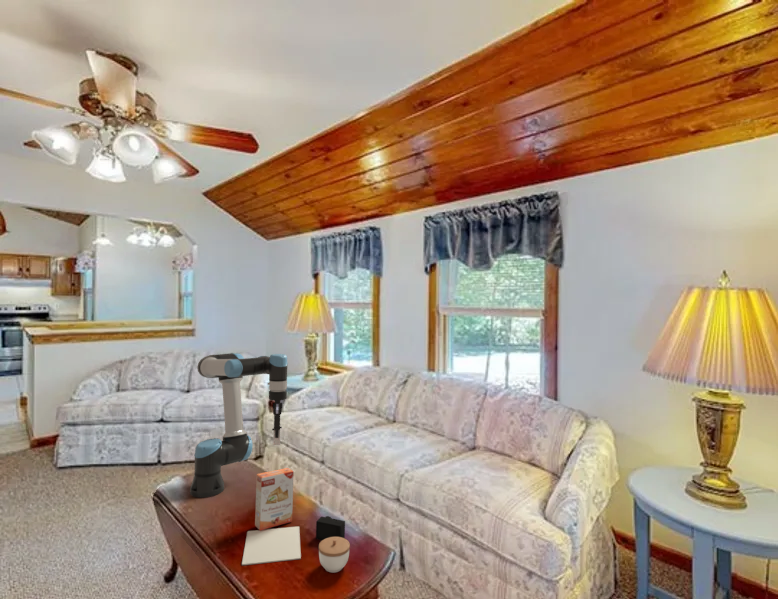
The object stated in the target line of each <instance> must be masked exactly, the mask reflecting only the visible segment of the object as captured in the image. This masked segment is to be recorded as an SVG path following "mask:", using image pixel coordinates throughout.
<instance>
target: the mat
mask: <svg viewBox="0 0 778 599" xmlns="http://www.w3.org/2000/svg"><path fill="white" fill-rule="evenodd" d="M300 533H301V532H300V526H288V527H278V528H268V529H264V530H261V531H260V530H259V529H257V530H248V531H247V532H246V538H245V544H244V549H243V556H242V561H241V566H251V565H258V564H260V565H261V564H267V563H275V562H286V561H294V560H301V559H302V558H301V557H302V553H301V535H300Z"/></svg>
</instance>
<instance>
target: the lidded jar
mask: <svg viewBox="0 0 778 599" xmlns="http://www.w3.org/2000/svg"><path fill="white" fill-rule="evenodd" d="M350 548H351V544H350V542H349V540H347V539H346V538H342V537H329V538H326V539H324V540H320V542H319V544H318V558H319V563H320V565H321V566H322V567H323V569H325V571H326V572H329V573H332V574H333V573H334V574H335V573H338V572H340V571H342V570H343V568H344V567H345V566H346V564H348V561H349V556H350Z"/></svg>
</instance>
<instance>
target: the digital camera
mask: <svg viewBox="0 0 778 599" xmlns="http://www.w3.org/2000/svg"><path fill="white" fill-rule="evenodd" d="M345 531H346V521H345V520H341V519H336V518H333V517H331V516H329V515H327V516H320V517H319V518H318V519H317V520H316V525H315V539H316V540H319V541H322V540H324V539H326V538H329V537H342V538H345V534H346V532H345ZM345 539H346V538H345Z"/></svg>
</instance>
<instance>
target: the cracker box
mask: <svg viewBox="0 0 778 599" xmlns="http://www.w3.org/2000/svg"><path fill="white" fill-rule="evenodd" d="M255 483H256V484H255V485H256V486H255V510H254V511H255V516H254V526H255V527H256V528H257V530H260V531H261V530H266V529H272V528H274V527H278V526H281V525H285V524H289V523H291V522H292V521H293V500H294V471H293V470H292V469H290V468H289V467H285V468H280V469H275V470H269V471H266V472H259V473H257V474H256V482H255Z"/></svg>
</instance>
